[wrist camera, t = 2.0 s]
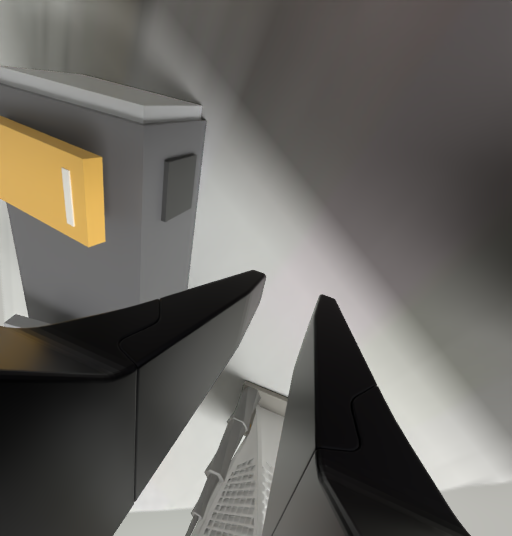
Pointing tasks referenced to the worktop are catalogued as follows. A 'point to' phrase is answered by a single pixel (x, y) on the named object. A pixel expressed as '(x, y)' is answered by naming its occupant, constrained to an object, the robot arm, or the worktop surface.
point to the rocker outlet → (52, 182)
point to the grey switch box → (109, 193)
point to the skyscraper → (242, 468)
